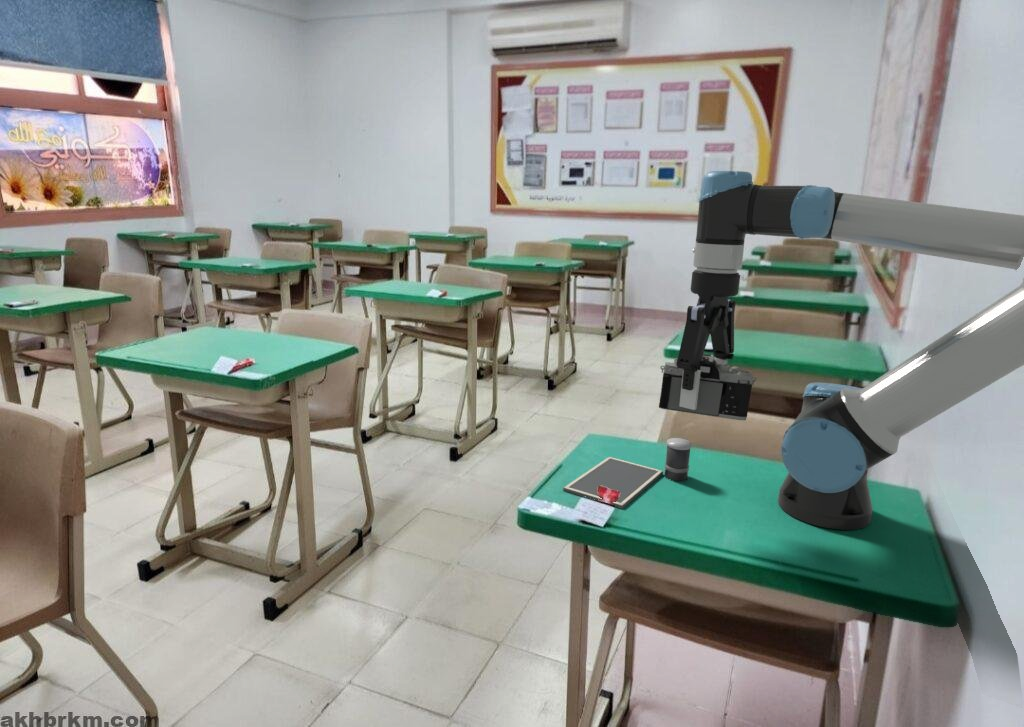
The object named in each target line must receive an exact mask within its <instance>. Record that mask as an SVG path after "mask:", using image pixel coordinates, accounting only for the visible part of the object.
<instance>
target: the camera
mask: <svg viewBox="0 0 1024 727" xmlns="http://www.w3.org/2000/svg"><path fill="white" fill-rule="evenodd" d="M714 358H715V357H714V354H707V353H703V356H702V359H701V362H700V365H699V368H698V370H700V371H701V373H700V382H699V391H698V400H697V409H696V410H692V409H688V408H684V407H680V406H679V404H680V394H681V384H682V375H683V369H681V368H677V360H678V357H675V358H674V359H673V362H668V361H666V362H665V364H664V365H661V366H660V370H661V374H662V382H661V389H660V390H661V391H660V398H659V403H658V408H659V409H662V410H666V411H675V412H681V413H687V414H695V415H703V416H708V417H716V418H723V419H728V420H735V421H736V420H737V421H746V420H747V417H748V412H749V406H750V399H751V394H752V388H753V386H754V384H755V382H756V381H757V377H754V375H753V373H752V372H750V371H747V370H742V369H741V367H739V366H736V365H735V366H732V367H730V366H731V365H729V364H727V365H726V364H718V363H717V362H716V361H715V360H714Z"/></svg>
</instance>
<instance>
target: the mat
mask: <svg viewBox="0 0 1024 727" xmlns="http://www.w3.org/2000/svg"><path fill="white" fill-rule="evenodd" d="M662 474H664V471H663V470H660V469H656V468H652V467H649V466H645V465H643V464H642V465H641V464H639V463H638V464H637V463H634V462H631V461H626V460H622V459H619V458H615V457H611V456H608V457H607V458H604V460H602V461H601V462H599V463H598V464H596V465H595V466H593V467H592V468H590V469H589V470H588V471H586V472H584V473H583V474H581V475H579V476H578V477H577V478H575V479H574V480H572V481H570V482H569V483H568V484H567V485H566V486H564V487H563V489H562V490H563V492H566V493H569V494H572V495H576V496H580V497H582V496H586V497H588V498H591V499H590V500H592V499H595V500H598V499H599V500H601V499H602V498H600V497H599V496H598V493H597V487H598V486H600V485H603V486H606V487H608V488H610V489H614V490H618V491H620V493H621V494H620V497H619V499H618V500H617V501H616V502H613V503H614V504H615V505H614V506H615V508H618V509H621V510H623V509H624V508H626V507H627V506H628V505H629V504H630V503H631V502H633V501H634V500H635V499H636V498H637V497H638V496H640V495H641V494H642V493H643V492H644V491H645V490H646V489H647V488H649V486H651V485H652V484H653V483H654V482H656V481H657V480H658V479H659V478H661V477H662V476H663V475H662ZM588 498H587V499H588ZM595 500H594V501H595ZM614 506H613V507H614Z"/></svg>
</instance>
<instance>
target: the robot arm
mask: <svg viewBox="0 0 1024 727" xmlns="http://www.w3.org/2000/svg"><path fill="white" fill-rule="evenodd" d="M746 235H752V236H755V235H760V236H771V237H784V238H786V237H787V238H798V239H825V240H834V241H839V242H845V243H851V244H858V245H863V246H870V247H876V248H882V249H890V250H895V251H901V252H907V253H914V254H919V255H926V256H930V257H937V258H943V259H950V260H955V261H962V262H969V263H974V264H975V263H976V264H981V265H987V266H993V267H998V268H1006V269H1011V270H1014V271H1016V270H1017V269H1018V268H1019V267H1020V265H1021V262H1022V260H1023V257H1024V215H1022V214H1013V213H1006V212H998V211H990V210H981V209H973V208H966V207H957V206H951V205H950V206H949V205H943V204H942V205H941V204H933V203H926V202H920V201H919V202H918V201H911V200H903V199H893V198H888V197H879V196H877V197H876V196H872V195H871V196H870V195H861V194H855V193H847V192H838V191H834V189H833V188H832V187H829V186H817V185H811V184H807V185H762V184H761V185H759V184H754V182H753V175H752V173H751V172H749V171H738V170H734V171H733V170H713V171H708V172H707V173H706V174H705V175H704V177H703V178H702V182H701V190H700V196H699V199H698V213H697V225H696V235H695V236H696V237H695V245H694V246H695V247H693V249H692V252H693V254H694V256H693V263H692V264H693V266H694V267H695V268H696V269H694V270H693V271H692V272H691V282H690V291H691V293H693V294H694V295H697V296H698V298H697V302H696V306H695V305H694V306H693V305H688V307H687V308H686V309H687V311H686V320H685V326H684V329H683V334H682V338H681V341H680V342H681V344H680V348H679V351H678V355H677V358H678V360H677V368H681V369H683V375H682V384H681V394H680V404H679V406H680V407H684V408H688V409H692V410H696V409H697V400H698V391H699V382H700V373H701V371H700V370H698V368H699V365H700V362H701V359H702V356H703V354H705V353H704V352H705V351H706V350H705V349H706V346H707V343H708V341H709V338H710V339H711V346H712V355H714V360H715V361H716V362H717V363H718V364H726V365H728V360H731V361H733V359H734V356H735V354H734V352H735V310H736V303H737V301H736V300H734V299H729V298H731V297H732V298H733V297H736V296H738V294H739V290H740V288H739V287H740V282H741V274H740V273H739V272H738V271H739V270H741V269H742V267H743V260H744V258H743V257H744V250H745V239H746ZM1022 279H1023V280H1022V282H1021V284H1020V285H1019V286H1017V287H1016V288H1014V289H1013V290H1011V291H1009V293H1007V294H1005V295H1004V296H1002V297H1001V298H999V299H997V300H996V301H993V303H991V304H990V305H988V306H987V307H985V308H984V309H982V310H980V311H979V312H978V313H975V314H974V315H973V316H972V317H970V318H968V319H967V320H966V321H964V322H961V323H960V324H959V325H957V326H956V327H954V328H953V329H952V330H950V331H948V332H947V333H945V334H944V335H942V336H940V337H939V338H938V339H935V340H934V341H933V342H932V343H930V344H928V345H927V346H926V347H924V348H922V349H921V350H919V351H918V352H916V353H915V354H912V356H910V357H909V358H907V359H906V360H904V361H902V362H901V363H899V364H898V365H896V366H894V367H893V368H891V369H890V370H889V371H887V372H885V373H884V374H882V375H880V376H879V377H878V378H876V379H875V380H873V381H872V382H870V383H868V384H867V385H865V386H864V387H857V386H851V385H847V384H846V385H845V384H838V383H833V382H831V383H829V382H811V383H808V384H807V385H806V386H805V388H804V393H803V394H802V399H803V401H802V406H801V411H800V413H799V414H798V416H797V417H796V418H795V420H794V421H793V423H792V424H791V425H790V426H789V427H788V428H787V429H786V431H785V433H784V434H783V438H782V442H781V447H780V448H781V459H782V462H783V465H784V466H785V468H786V470H787V471H788V473H787V475H786V476H785V479H784V481H783V482H782V483H781V486H780V488H779V490H778V498H777V504H778V505H779V507H780V508H781V509H782V510H783V511H784V512H785V513H787V515H790V516H792V517H793V518H795V519H797V520H800V521H801V522H805V523H807V524H810V525H814V526H818V527H820V528H825V529H830V530H831V529H832V530H842V531H843V530H844V531H847V530H848V531H852V530H853V531H854V530H859V529H862V528H865V527H867V526H869V525H870V523H871V520H872V515H873V504H872V499H871V494H870V489H869V482H868V478H867V477H868V471H869V469H870V468H873V467H874V466H876V465H878V464H880V463H881V462H883V461H884V460H886V459H888V458H889V457H891V456H893V455H895V454H896V453H897V452H898V449H899V443H900V440H901V438H902V437H903V436H905V435H907V434H908V433H910V432H912V431H913V430H915V429H918V428H919V427H921V426H922V425H924V424H925V423H928V422H929V421H931V420H932V419H934V418H936V417H937V416H939V415H941V414H943V413H944V412H946V411H947V410H949V409H951V408H954V406H956V405H958V404H959V403H961V402H963V401H965V400H966V399H968V398H970V397H972V396H973V395H975V394H977V393H978V392H981V391H982V390H984V389H985V388H987V387H989V386H990V385H992V384H994V383H995V382H997V381H998V380H1000V379H1003V378H1004V377H1005V376H1008V374H1011V373H1013V372H1014V371H1016V370H1018V369H1019V368H1021V367H1022V366H1024V278H1022Z"/></svg>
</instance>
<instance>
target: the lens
mask: <svg viewBox="0 0 1024 727" xmlns="http://www.w3.org/2000/svg"><path fill="white" fill-rule="evenodd" d="M692 445H693V444H692V442H691V440H688V439H685V438H680V437H672V438H668V439H667V440H666V456H665V457H666V458H665V463H664V475H665V476H664V478H666V477H667V478H668V479H667V478H666V479H667V480H669V479H671V480H670V481H672V480H673V482H679V481H680V482H685V481H687V480H688V474H689V471H690V470H689V469H690V458H691V456H690V455H691V449H692ZM686 479H687V480H686ZM684 480H685V481H684Z"/></svg>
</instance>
